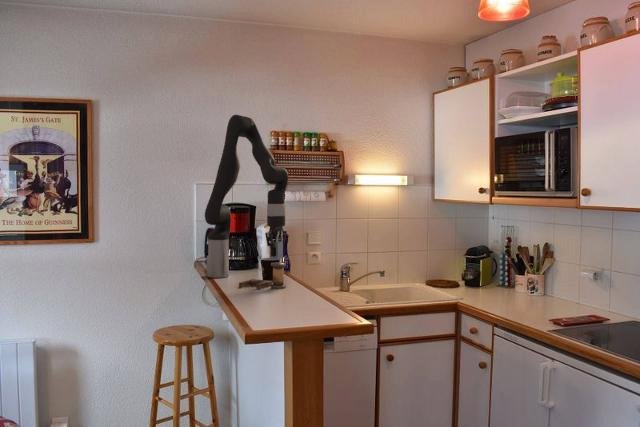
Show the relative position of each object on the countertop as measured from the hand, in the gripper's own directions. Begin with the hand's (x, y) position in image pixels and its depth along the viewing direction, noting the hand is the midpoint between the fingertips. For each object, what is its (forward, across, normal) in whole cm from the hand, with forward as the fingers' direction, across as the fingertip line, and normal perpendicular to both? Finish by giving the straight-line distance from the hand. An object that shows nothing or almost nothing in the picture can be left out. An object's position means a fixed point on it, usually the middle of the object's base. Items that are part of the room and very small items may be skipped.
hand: (276, 255), depth 224 cm
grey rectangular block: (+1, 0, 0) cm, 1 cm away
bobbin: (+13, +4, +3) cm, 14 cm away
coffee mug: (+13, -9, -8) cm, 18 cm away
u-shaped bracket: (+13, +6, -6) cm, 15 cm away
